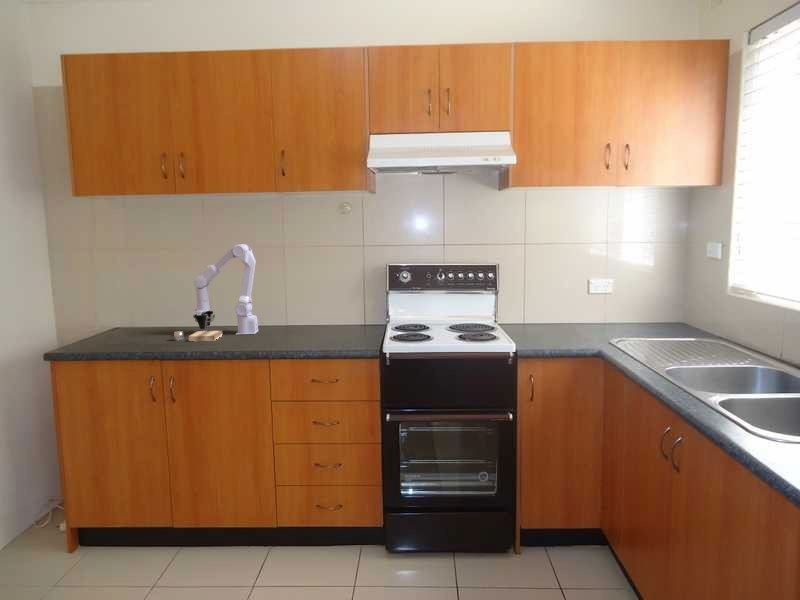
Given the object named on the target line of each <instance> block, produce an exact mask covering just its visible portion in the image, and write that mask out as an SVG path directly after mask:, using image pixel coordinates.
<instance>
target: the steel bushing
mask: <svg viewBox="0 0 800 600" xmlns="http://www.w3.org/2000/svg"><path fill="white" fill-rule="evenodd" d="M173 335H174V342H180V341H179V340H182V341H184V340H185V339H184V331H183V330H178V331H174V332H173ZM183 339H184V340H183Z"/></svg>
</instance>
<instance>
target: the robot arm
mask: <svg viewBox="0 0 800 600" xmlns="http://www.w3.org/2000/svg"><path fill="white" fill-rule="evenodd" d="M236 258H237V259H239V260H240V261H241V262H242V263H243V265H244V266H243V267H244V268H243V276H242V283H241V290H240V295H239V298H238V302H237V305H236V306H235V309H234V310H235V313H236V319H237V321H236V322H237V332H236V333H235V335H256V334H257V333H258V332H259V323H258V322H259V320H258V316H257V315H253V313H252V311H253V308H254V307H253V303H252V302H253V298H252V292H253V287H254V286H253V285H254V278H255V277H254V276H255V271H256V270H255V269H256V264H257V262H256V258H255V255H254V253H253V250H252V248H251V247H250V246H249V245H248V244H246V243H241V244H239V243H238V244H236V245H234V246H233V247H231V248H230V249H229V250H228V251H226V253H225V254H224V255H222V256H221V257H220V258H219V259H218V261H216V263H215V264H210V265H207V266H206V269H204V271H203V272H200V273H199V276H198V275H197V276H196V277H195V278H194V280H193V285H194V286H195V290H196V291H195V294H196V306H197V307H196V308H195V309H194V311H195V312H196V314H197V315H195V314H193V315H194V316H195V318H196V320H197V322H196V323H197V324H198V327H199V329H200V330H204V329H205V320H206V317H207V316H208V317H210V316H211V314H213V315H214V311H213V310H211V306H210V292H209V285H210V282H212V281H213V280H214V279H215V278H216V277H218V275H219V274H220V270H221V269H222V268H223V267H224V266H225V265H226V264H227V263H229V262H230V261H231V260H232V259H236ZM204 314H207V315H204ZM195 318H194V319H195ZM208 321H211V319H208ZM207 324H208V325H207V327H210V326H211V322H207Z"/></svg>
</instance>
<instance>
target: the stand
mask: <svg viewBox="0 0 800 600" xmlns="http://www.w3.org/2000/svg"><path fill="white" fill-rule="evenodd" d="M222 335H223V330H207V331H204V330H200V331H199V330H197V331H195V332H194V333H192V334H190V335H188V342H189V341H194V342H215V341H217V340H218V339H220V338H221V337H223V336H222ZM219 337H220V338H219ZM216 339H217V340H216Z"/></svg>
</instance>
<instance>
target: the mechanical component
mask: <svg viewBox="0 0 800 600" xmlns="http://www.w3.org/2000/svg"><path fill="white" fill-rule="evenodd" d="M194 315H197V313H196V314H193V315H192V316H193V317H192V318H193V319H194V321H195V322H196V323H198V322H197V320H196V318H195V316H194ZM204 315H207V314H204ZM215 318H216V314H214V313H213V314H211V316H210V317H208V316H207V317H206V320H205V329H203V331H208V328H207V327H208V326H207V325H208V324H207V322H210V323H211V322H212V323H213V322H214V320H215ZM208 319H211V321H208Z"/></svg>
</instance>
